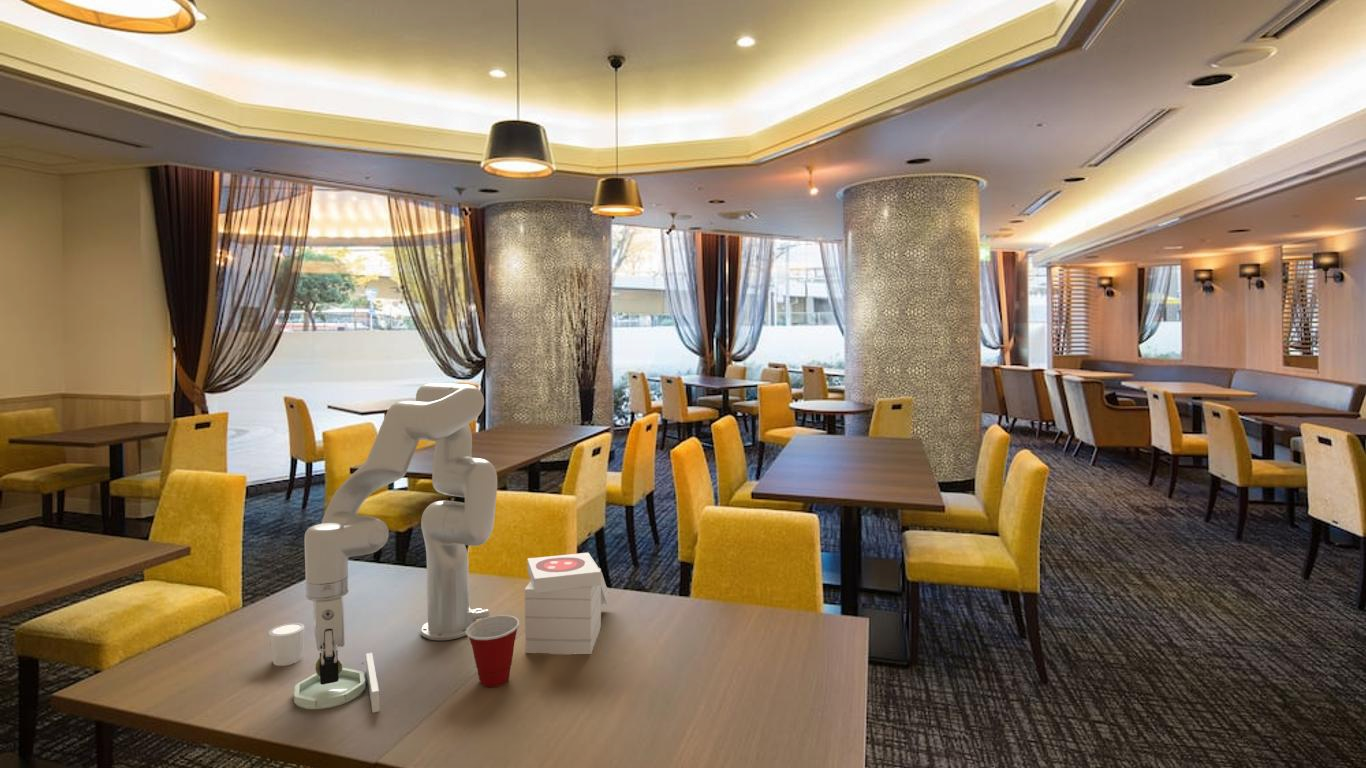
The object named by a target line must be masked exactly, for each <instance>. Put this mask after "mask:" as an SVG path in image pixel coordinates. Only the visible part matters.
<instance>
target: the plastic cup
mask: <svg viewBox="0 0 1366 768" xmlns="http://www.w3.org/2000/svg"><path fill="white" fill-rule="evenodd" d="M519 626H520V620H519V618H517V617H516V616H513V615H509V614H508V615H506V614H505V615H504V614H498V615H493V616H492V615H491V616H490V615H489V617H486V618H483V619H477V620H476V622H474V623H472V624H471V625H469V626H468V627H467V628H466V632H465V633H466V636H467V637H468V639H469V641H470V644H471V647H472V653H473V657H474V662H475V665H476V666H475V667H476V669H477V675H478V678H479V679H478V680H479V682H480V684H481V686H484V687H485V688H486V687H487V688H496V687H500V686H503V685H504V684H506V683H507V682H508V681H509V678H510V673H511V668H512V664H513V656H514V649H515V641H516V636H517V631H518V629H519Z"/></svg>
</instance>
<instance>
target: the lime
mask: <svg viewBox="0 0 1366 768" xmlns="http://www.w3.org/2000/svg"><path fill="white" fill-rule="evenodd" d="M337 661H338V674H339V673H340V672H341V671H342V668H343V665H342V663H341V661H339V659H337ZM320 664H321V657H320V656H319V658H318V659H317V661H316V663H315V668H314V669H315V672H316V674H318V675H319V676H320Z"/></svg>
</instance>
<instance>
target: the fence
mask: <svg viewBox="0 0 1366 768" xmlns="http://www.w3.org/2000/svg"><path fill="white" fill-rule="evenodd" d="M365 669H366V670H365V672H366V673H365V674H366V679H367V680H366V681H367V685H368V691H369V698H370V705H371V711H372V714H373V713H377V712H380V690H379V683H378V677H377V673H376V668H375V661H374V656H373V652H368V653H365Z"/></svg>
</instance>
